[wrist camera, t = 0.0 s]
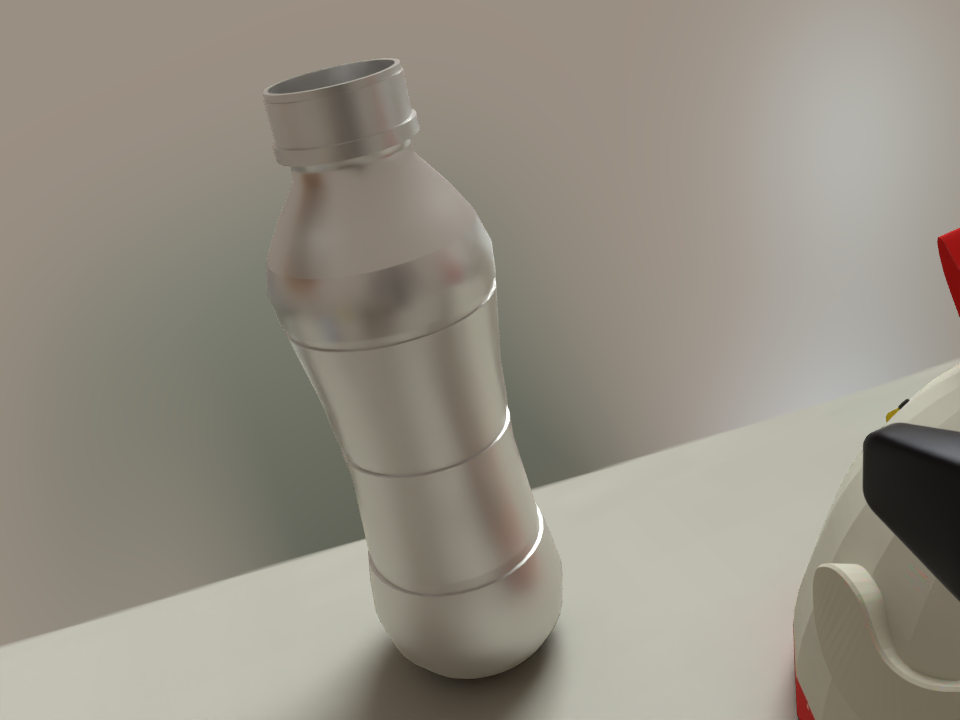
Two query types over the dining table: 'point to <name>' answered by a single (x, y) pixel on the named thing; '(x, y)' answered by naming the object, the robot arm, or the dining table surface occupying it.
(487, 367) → the plastic bottle
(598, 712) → the dining table surface
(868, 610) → the kitchen timer
